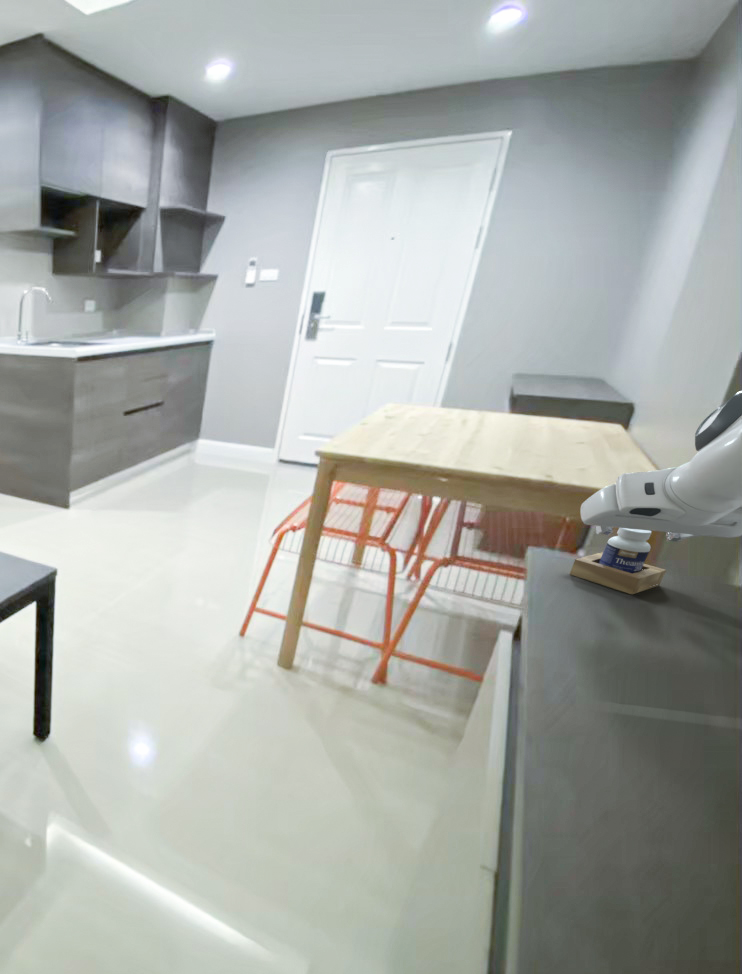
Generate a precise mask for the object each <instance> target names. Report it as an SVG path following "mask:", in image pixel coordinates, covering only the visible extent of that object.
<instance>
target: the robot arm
mask: <svg viewBox="0 0 742 974" xmlns="http://www.w3.org/2000/svg"><path fill="white" fill-rule="evenodd" d="M694 448H695V451H696V454H695V455H693V457H692V458H691V459H690V461H688V462H685V463H683V464H681V465H679V466H677V467H668V468H664V469H658V470H650V471H637V472H625V473H622V474H620V475H618V476H617V477H616V480H615V483H614V484H609V485H606V486H605V487H602V488H601V489H599V490H598V491H595V492H594V493H593V494H592V495H590V496H589V497H588V498H587V499H585V501H583V502H582V503H581V505H580V509H579V511H580V519H581V522H582V523H583V524H584V525H586V526H595V534H596V535H601V536H609V535H610V534H612V533H613V532H614V529H613V528H618V529H619V528H628V529H639V530H650V531H651V532H660V533H661V532H662V533H665V540H666V542H673V543H680V542H682V541H684V540H686V539H692V538H699V537H703V536H706V537H714V538H715V537H716V538H717V537H718V538H725V539H727V538H729V539H730V538H738V537H741V536H742V390H740V391H737V392H736V393H735V394H734V395H732V396H731V397H730V398H729V399H727V400H726V401H725V402H723V403H722V404H720V405H719V406H718V407H717V408H715V410H713V411H712V412H710V414H709V415H708V416H707V417H706V418H704V419H703V421H702V422H701V423H700V424H699V426H698V427H697V429H696V431H695V434H694Z"/></svg>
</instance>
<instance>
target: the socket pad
mask: <svg viewBox="0 0 742 974" xmlns="http://www.w3.org/2000/svg"><path fill="white" fill-rule="evenodd" d="M603 552H604V551H601V552H597V553H594V554H589V555H586V556H581V557H579V558H575V559H574V560H573V564H572V567H571V569H570V572H569V575H570V576H572V577H573V576H574V577H576V578H580V579H583V580H586V581H589V582H592V583H595V584H598V585H602V586H604V587H607V588H610V589H614V590H617V591H619V592H622V593H626V594H629V595H634V594H639V593H640V592H644V591H647V590H650V589H653V588H655V587H659V586H660V585H661V583H662V581H663V579H664V577H665V574H666V573H667V569H664V568H661V567H657V566H654V565H651V564H647V563H644V565H643V567H642V569H643V570H642V569H641V571H639V572H636V573H629V572H625V571H622V570H619V569H615V568H612V567H609V566H605V565H602V564H599V561H600V559H601V557H602V554H603ZM644 569H646V570H644ZM656 584H658V585H656ZM653 585H655V586H653ZM650 586H652V587H650Z"/></svg>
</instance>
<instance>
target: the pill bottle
mask: <svg viewBox="0 0 742 974" xmlns="http://www.w3.org/2000/svg"><path fill="white" fill-rule="evenodd" d="M652 532H653V531H650V530H639V529H628V528H618V530H617V532H616V534H617V535H616V536H615V535H614V536H612V537H610V538H609V539H608V540H607V543H606V545H605V547H604V550H603V551H602V552H603V554H602V557H601V559H600V561H599V564H602V565H605V566H609V567H612V568H615V569H619V570H622V571H625V572H629V573H636V572H639V571H641V569H642V567H643V565H644V564H645V562H646V561H647V558H648V556H649V553H650V552H651V548H652V547H651V544H650V543H649V542H648V540H649V539H650V537H651V536H652Z"/></svg>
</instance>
